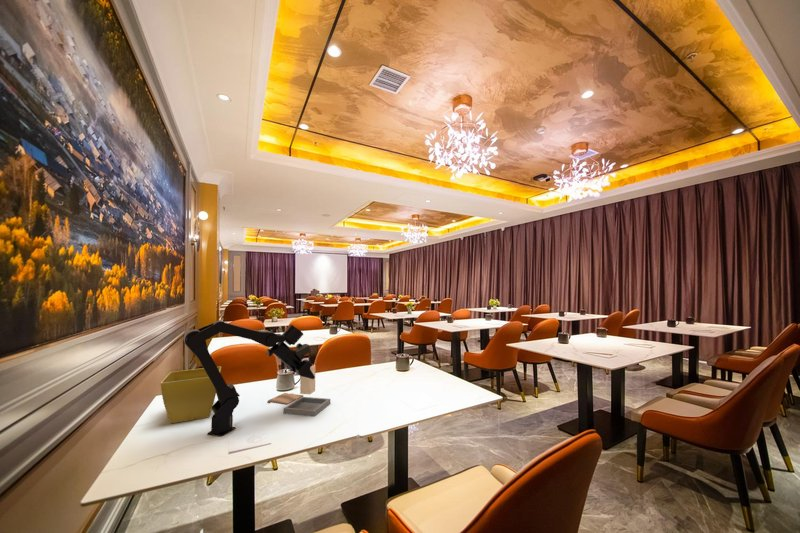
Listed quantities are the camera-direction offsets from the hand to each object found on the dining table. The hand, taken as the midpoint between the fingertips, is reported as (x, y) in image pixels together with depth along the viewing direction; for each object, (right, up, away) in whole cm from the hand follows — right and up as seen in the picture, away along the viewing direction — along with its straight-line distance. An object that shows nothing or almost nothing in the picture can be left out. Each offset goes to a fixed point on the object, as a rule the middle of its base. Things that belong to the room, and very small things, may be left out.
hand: (311, 376), depth 133 cm
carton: (-1, -6, -1) cm, 7 cm away
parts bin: (-1, -13, -2) cm, 14 cm away
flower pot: (-47, -14, -6) cm, 49 cm away
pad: (-14, -14, +9) cm, 22 cm away
